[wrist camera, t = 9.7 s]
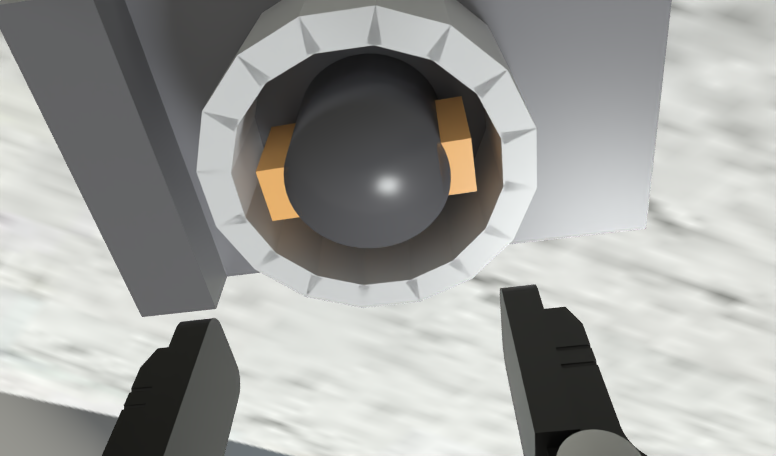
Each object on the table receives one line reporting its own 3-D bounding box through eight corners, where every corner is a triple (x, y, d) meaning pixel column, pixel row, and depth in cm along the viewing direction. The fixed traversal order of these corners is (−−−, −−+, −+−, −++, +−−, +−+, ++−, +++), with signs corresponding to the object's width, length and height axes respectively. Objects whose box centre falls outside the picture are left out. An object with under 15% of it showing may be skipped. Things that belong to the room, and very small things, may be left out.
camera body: (611, -136, 24) (751, -95, 14) (596, 146, 30) (686, 295, 21) (106, -55, 25) (-52, 27, 16) (199, 196, 32) (124, 354, 23)
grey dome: (453, 37, 20) (465, 85, 17) (469, 170, 23) (481, 233, 20) (263, 71, 21) (238, 122, 18) (300, 195, 24) (286, 260, 20)
